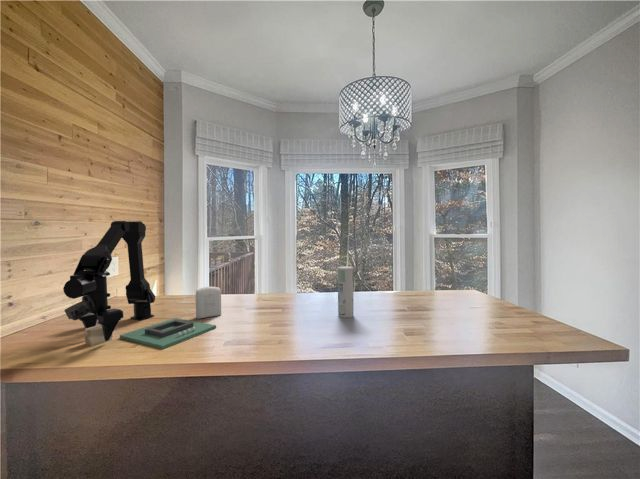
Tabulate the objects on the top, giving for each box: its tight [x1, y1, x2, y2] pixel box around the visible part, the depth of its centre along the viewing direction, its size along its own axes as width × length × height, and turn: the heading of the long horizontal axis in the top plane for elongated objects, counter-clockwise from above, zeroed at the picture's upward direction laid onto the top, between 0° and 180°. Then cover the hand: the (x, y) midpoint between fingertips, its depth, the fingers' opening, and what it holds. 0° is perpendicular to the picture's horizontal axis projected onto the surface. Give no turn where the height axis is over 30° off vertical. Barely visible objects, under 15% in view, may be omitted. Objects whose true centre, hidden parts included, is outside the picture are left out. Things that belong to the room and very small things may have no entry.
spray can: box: [337, 265, 355, 319], centre depth 132 cm, size 6×6×20 cm
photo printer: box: [195, 286, 222, 320], centre depth 134 cm, size 10×4×12 cm, turn 123°
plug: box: [84, 325, 113, 347], centre depth 106 cm, size 4×7×5 cm, turn 153°
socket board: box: [119, 317, 217, 350], centre depth 114 cm, size 22×22×2 cm
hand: (98, 338), depth 106 cm, fingers open, 9 cm apart
